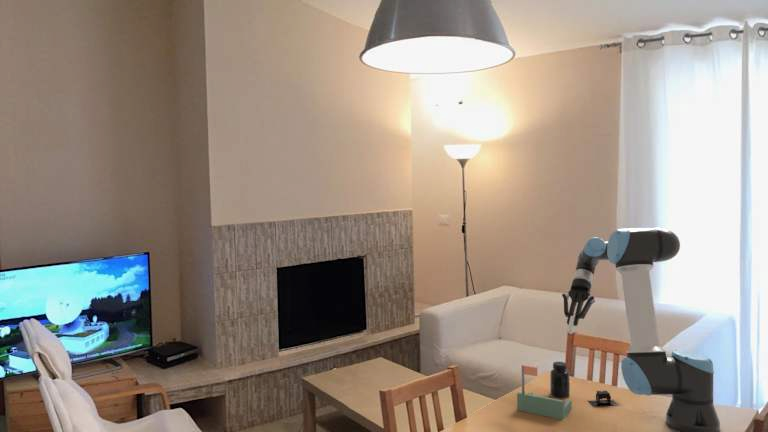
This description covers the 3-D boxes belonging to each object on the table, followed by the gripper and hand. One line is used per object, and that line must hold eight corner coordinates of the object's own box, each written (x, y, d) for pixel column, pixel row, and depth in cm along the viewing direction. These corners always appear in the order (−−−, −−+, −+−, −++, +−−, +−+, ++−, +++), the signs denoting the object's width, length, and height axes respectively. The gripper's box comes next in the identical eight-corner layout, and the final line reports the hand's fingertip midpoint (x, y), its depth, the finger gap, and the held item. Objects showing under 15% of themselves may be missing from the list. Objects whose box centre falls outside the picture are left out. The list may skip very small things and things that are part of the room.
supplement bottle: (546, 395, 212) (546, 363, 211) (556, 390, 216) (556, 359, 216) (563, 399, 207) (563, 367, 206) (573, 394, 211) (572, 363, 210)
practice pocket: (528, 400, 207) (527, 357, 206) (572, 409, 198) (571, 363, 197) (517, 410, 199) (516, 365, 198) (562, 419, 189) (562, 372, 189)
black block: (616, 400, 206) (616, 388, 206) (625, 408, 199) (625, 395, 198) (582, 401, 206) (582, 389, 206) (589, 409, 199) (589, 396, 198)
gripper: (600, 289, 232) (589, 339, 220) (568, 286, 240) (555, 334, 227) (596, 278, 228) (585, 328, 215) (564, 276, 235) (551, 324, 223)
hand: (570, 331), depth 221 cm, fingers closed
